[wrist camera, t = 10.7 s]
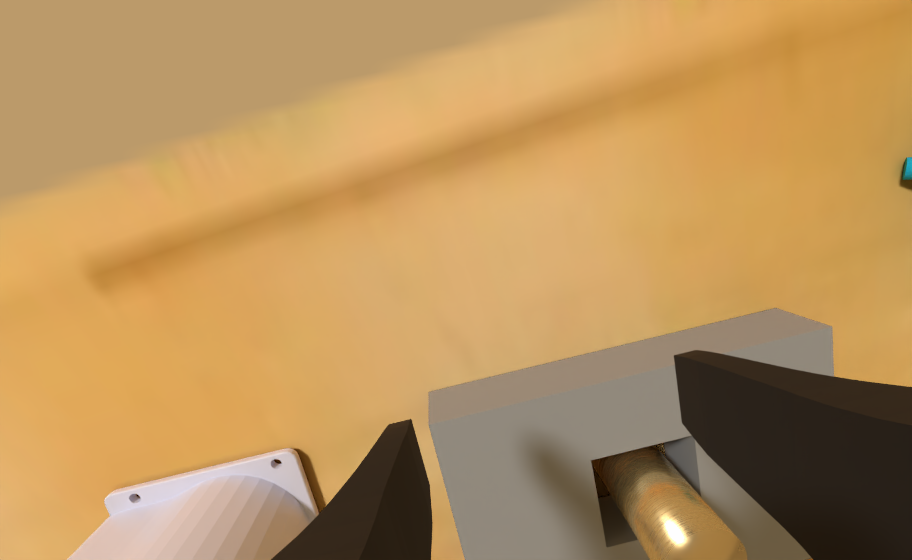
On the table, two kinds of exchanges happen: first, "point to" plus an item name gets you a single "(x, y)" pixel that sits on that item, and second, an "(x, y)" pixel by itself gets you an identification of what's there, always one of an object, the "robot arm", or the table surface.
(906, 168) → the teal knobby piece
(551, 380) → the hole plate
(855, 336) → the table surface
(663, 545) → the brass pin
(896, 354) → the table surface
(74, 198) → the table surface
